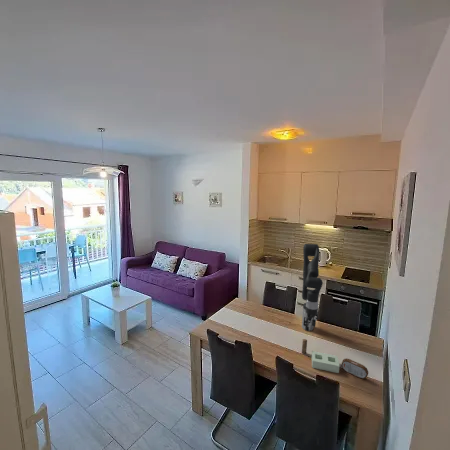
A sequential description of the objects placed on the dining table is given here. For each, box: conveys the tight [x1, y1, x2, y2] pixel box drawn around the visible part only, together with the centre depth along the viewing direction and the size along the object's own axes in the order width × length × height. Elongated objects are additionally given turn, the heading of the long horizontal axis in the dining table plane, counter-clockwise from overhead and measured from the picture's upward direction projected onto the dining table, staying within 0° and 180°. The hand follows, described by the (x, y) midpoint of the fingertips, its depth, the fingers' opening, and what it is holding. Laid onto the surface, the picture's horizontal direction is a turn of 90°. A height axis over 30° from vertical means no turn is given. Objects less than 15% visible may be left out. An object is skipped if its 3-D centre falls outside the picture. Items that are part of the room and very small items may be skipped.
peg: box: [301, 338, 308, 356], centre depth 176 cm, size 3×3×10 cm
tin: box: [341, 358, 369, 380], centre depth 157 cm, size 15×3×8 cm, turn 50°
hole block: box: [311, 350, 340, 374], centre depth 165 cm, size 10×16×5 cm, turn 73°
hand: (310, 328), depth 168 cm, fingers open, 8 cm apart
